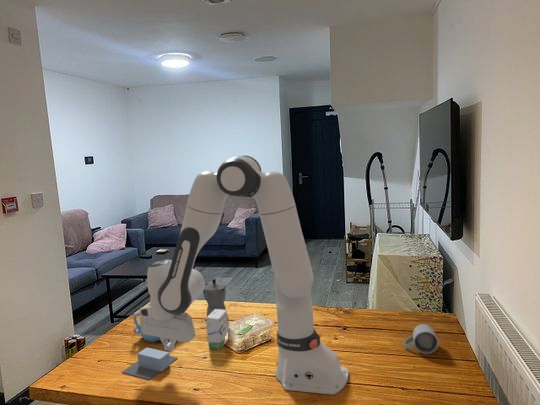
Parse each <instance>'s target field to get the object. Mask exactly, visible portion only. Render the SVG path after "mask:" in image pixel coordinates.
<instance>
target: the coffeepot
mask: <svg viewBox="0 0 540 405" xmlns="http://www.w3.org/2000/svg"><path fill="white" fill-rule="evenodd" d="M205 283H206V285H205V289H204V291H203V292H202V293H203V295H204V299H205V300H206V303H207V310H206V318H207V317H208V315H210V314H211V313H212V312H213V311H214V310H215V309H221V310H227V308H226V305H225V301H226V289H227V285H226V284H225V283H224V282H217V279H215V278H213V279H211V283H210V282H208V281H205ZM227 319H228V320H229V315H228V314H227Z"/></svg>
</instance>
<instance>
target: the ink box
mask: <svg viewBox="0 0 540 405" xmlns="http://www.w3.org/2000/svg"><path fill="white" fill-rule="evenodd" d="M227 315H228V310H227V309H226V310H221V309H215V310H214V311H213V312H212V313H211V314H210V315H208V317H207V316H206V319H205V321H206V330H207V340H208V349H209V350H222V349H223V348H224V346H225V345H224V343H225V336H226V334H227V332H228V331H229V323H228V322H229V318H228V319H227ZM225 344H226V343H225Z"/></svg>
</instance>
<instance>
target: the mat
mask: <svg viewBox="0 0 540 405" xmlns="http://www.w3.org/2000/svg"><path fill="white" fill-rule="evenodd" d="M177 360H178V357H176V356H171V355H170V364H172V363H174V362H175V361H177ZM159 373H161V372H160V371H156V370H152V369H148V368H144V367H140V366H139V364H138V360H137V361H135V363H133V364H131V365H130V366H128V367H127V368H126V369H124V370H123V371H121V374H126V375H128V376H133V377H136V378H137V377H138V378H141V379H143V380H147V381H151V379H153V378H154V377H155V376H157V375H158V374H159Z"/></svg>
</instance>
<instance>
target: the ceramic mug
mask: <svg viewBox="0 0 540 405" xmlns="http://www.w3.org/2000/svg"><path fill="white" fill-rule="evenodd" d="M412 342H413V343H412ZM403 346H404V348H405V349H406V350H412V349H416V351H417V352H419V353H421V354H424V355H430V354H433V353H434V352H436V350H438V347H439V340H438V337H437V334H436V332H435V330H434V329H433V327H431V326H429V325H428V324H423V323H422V324H418V325H417V326H415V328H414V329H413V331H412V335H411V336H410V337H408V338H406V339H405V340H404V341H403Z"/></svg>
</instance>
